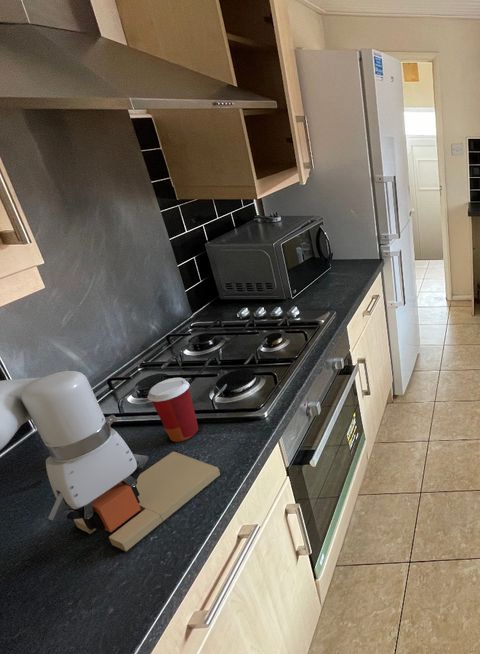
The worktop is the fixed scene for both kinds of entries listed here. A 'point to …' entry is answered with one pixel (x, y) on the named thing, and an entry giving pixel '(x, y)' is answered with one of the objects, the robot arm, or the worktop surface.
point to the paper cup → (175, 408)
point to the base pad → (161, 495)
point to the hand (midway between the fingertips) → (116, 513)
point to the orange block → (116, 506)
